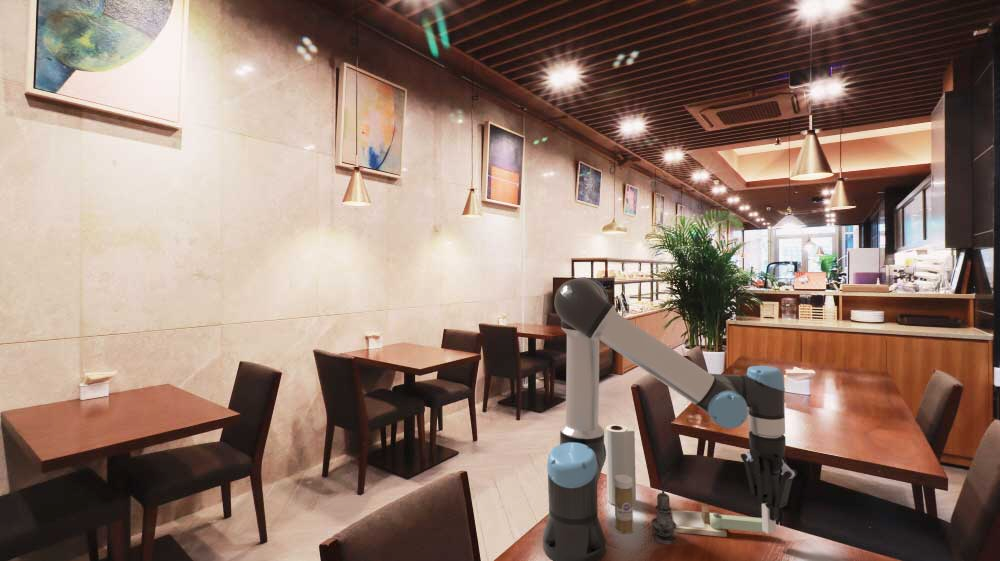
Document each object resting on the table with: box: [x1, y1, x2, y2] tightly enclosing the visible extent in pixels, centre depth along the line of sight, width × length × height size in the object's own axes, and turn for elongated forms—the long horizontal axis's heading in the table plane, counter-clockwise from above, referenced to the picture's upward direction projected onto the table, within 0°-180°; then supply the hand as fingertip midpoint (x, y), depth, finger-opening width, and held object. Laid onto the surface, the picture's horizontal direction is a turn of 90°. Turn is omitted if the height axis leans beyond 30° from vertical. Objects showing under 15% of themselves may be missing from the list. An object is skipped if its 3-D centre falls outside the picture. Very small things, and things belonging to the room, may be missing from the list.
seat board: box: [670, 505, 728, 538], centre depth 122 cm, size 12×9×4 cm
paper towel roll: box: [605, 424, 637, 506], centre depth 134 cm, size 7×6×21 cm
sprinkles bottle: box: [614, 475, 634, 534], centre depth 120 cm, size 5×5×14 cm
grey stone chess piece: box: [651, 489, 676, 545], centre depth 116 cm, size 6×6×12 cm
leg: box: [710, 512, 767, 534], centre depth 117 cm, size 12×3×3 cm, turn 77°
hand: (769, 530), depth 112 cm, fingers closed
